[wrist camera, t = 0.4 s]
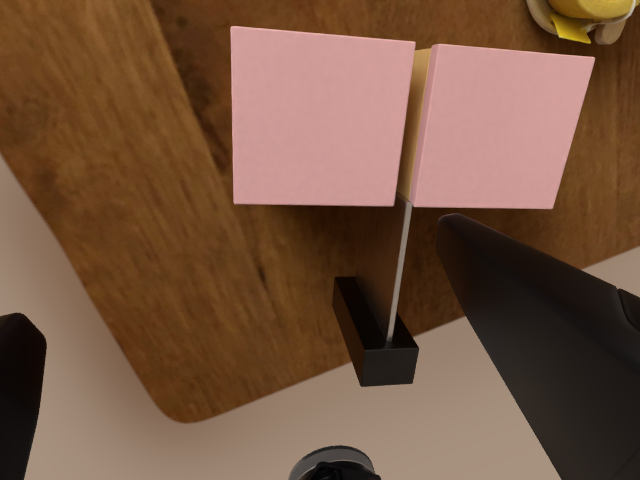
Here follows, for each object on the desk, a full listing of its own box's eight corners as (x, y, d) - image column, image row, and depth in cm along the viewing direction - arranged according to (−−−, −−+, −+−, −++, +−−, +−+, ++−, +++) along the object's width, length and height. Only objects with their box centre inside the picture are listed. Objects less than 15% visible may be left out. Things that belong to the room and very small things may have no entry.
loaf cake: (476, 175, 28) (553, 209, 21) (238, 168, 25) (233, 204, 18) (499, 63, 25) (596, 57, 18) (237, 42, 23) (230, 25, 16)
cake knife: (371, 304, 30) (413, 384, 22) (331, 305, 30) (360, 387, 22) (388, 168, 26) (445, 206, 18) (343, 167, 26) (382, 206, 18)
